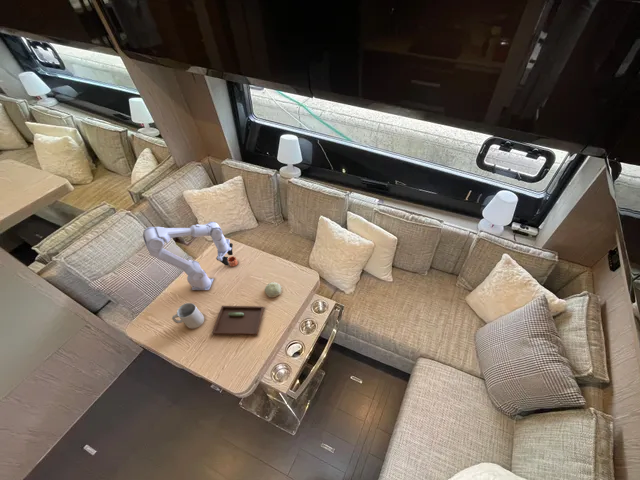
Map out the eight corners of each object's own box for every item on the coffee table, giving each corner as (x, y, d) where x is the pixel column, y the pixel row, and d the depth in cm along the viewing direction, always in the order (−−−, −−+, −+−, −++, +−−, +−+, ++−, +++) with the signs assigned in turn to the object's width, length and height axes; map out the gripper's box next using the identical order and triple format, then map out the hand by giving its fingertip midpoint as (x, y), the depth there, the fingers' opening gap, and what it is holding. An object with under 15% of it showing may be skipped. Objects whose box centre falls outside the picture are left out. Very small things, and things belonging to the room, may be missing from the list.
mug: (203, 311, 145) (195, 300, 136) (205, 325, 140) (196, 314, 131) (178, 319, 142) (168, 308, 133) (179, 333, 137) (168, 322, 128)
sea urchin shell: (268, 300, 149) (262, 286, 147) (267, 298, 156) (262, 285, 155) (284, 293, 151) (279, 280, 150) (283, 292, 159) (278, 279, 158)
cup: (228, 266, 165) (226, 262, 162) (231, 260, 168) (228, 256, 165) (236, 266, 165) (234, 262, 162) (238, 260, 168) (236, 256, 165)
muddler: (227, 314, 141) (242, 315, 141) (228, 311, 143) (243, 311, 143) (228, 317, 143) (243, 317, 143) (229, 313, 144) (244, 314, 144)
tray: (213, 334, 137) (212, 333, 135) (223, 307, 147) (221, 305, 145) (257, 335, 137) (256, 333, 136) (264, 308, 147) (263, 306, 146)
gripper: (224, 252, 140) (232, 269, 150) (232, 233, 149) (239, 250, 160) (210, 252, 140) (219, 269, 150) (219, 233, 149) (227, 250, 160)
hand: (228, 259), depth 155 cm, fingers open, 7 cm apart
